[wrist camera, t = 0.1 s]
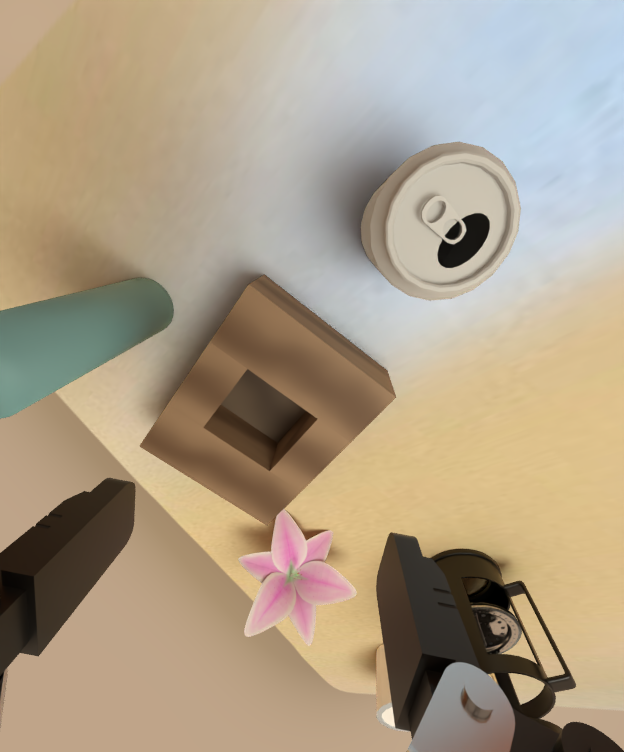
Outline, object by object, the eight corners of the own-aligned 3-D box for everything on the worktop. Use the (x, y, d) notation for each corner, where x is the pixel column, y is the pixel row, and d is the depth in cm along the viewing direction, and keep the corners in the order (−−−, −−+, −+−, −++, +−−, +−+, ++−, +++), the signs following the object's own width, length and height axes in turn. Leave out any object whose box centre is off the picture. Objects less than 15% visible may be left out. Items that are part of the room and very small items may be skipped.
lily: (361, 558, 43) (377, 599, 34) (291, 625, 42) (286, 686, 33) (298, 484, 44) (296, 504, 35) (228, 549, 43) (205, 587, 34)
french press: (433, 611, 45) (515, 956, 23) (401, 565, 42) (463, 909, 21) (525, 585, 41) (716, 955, 20) (498, 533, 39) (687, 899, 18)
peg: (134, 265, 30) (-64, 300, 15) (183, 301, 31) (41, 366, 16) (110, 310, 32) (-86, 380, 17) (158, 343, 33) (9, 435, 18)
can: (407, 295, 29) (448, 335, 18) (340, 235, 28) (340, 240, 17) (477, 220, 27) (574, 213, 16) (407, 149, 25) (459, 88, 14)
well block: (264, 274, 29) (248, 284, 24) (387, 370, 32) (396, 397, 27) (167, 415, 36) (139, 446, 31) (276, 486, 38) (266, 525, 33)
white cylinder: (405, 632, 47) (415, 697, 40) (430, 659, 49) (443, 725, 42) (362, 647, 49) (365, 710, 42) (387, 672, 50) (394, 737, 44)
